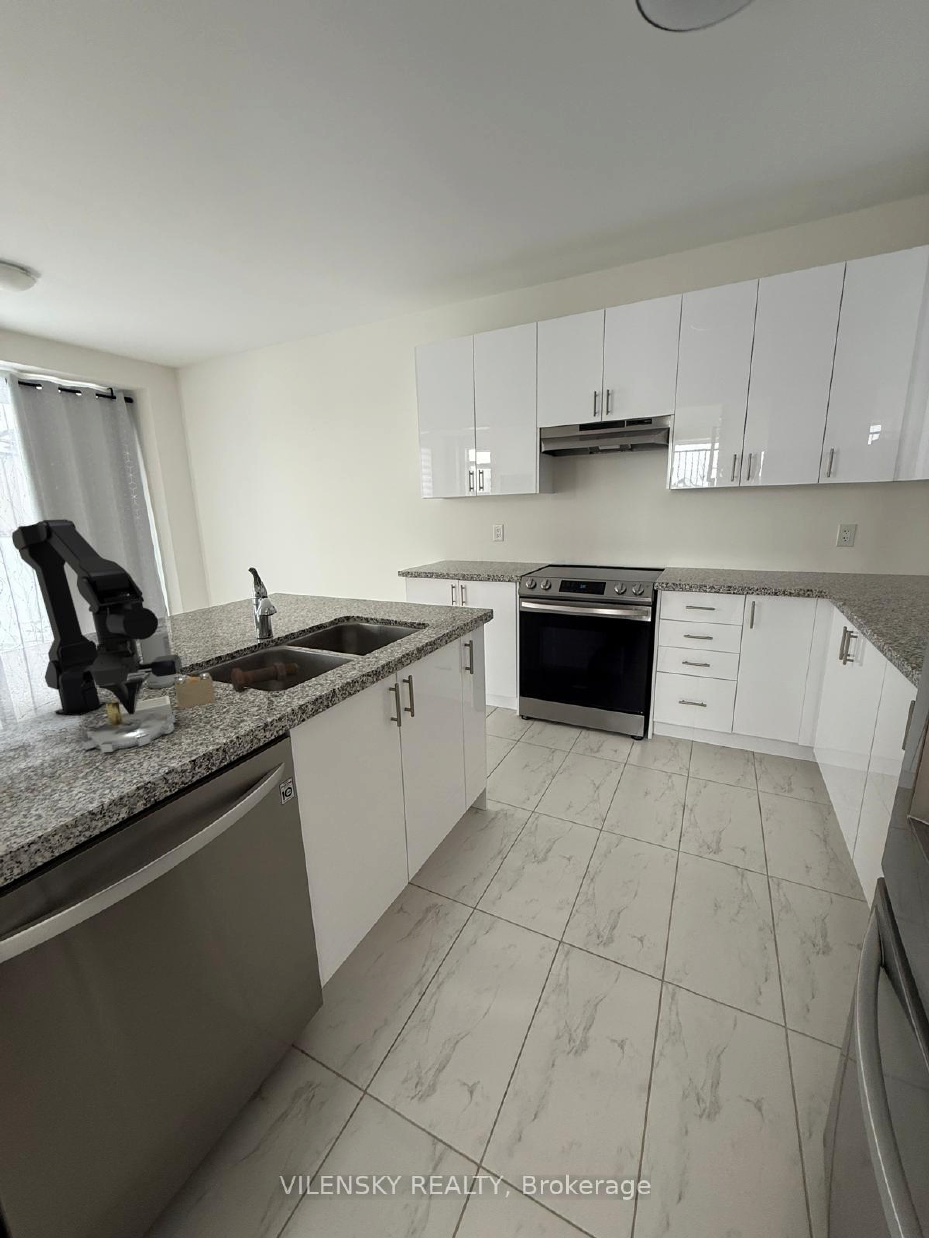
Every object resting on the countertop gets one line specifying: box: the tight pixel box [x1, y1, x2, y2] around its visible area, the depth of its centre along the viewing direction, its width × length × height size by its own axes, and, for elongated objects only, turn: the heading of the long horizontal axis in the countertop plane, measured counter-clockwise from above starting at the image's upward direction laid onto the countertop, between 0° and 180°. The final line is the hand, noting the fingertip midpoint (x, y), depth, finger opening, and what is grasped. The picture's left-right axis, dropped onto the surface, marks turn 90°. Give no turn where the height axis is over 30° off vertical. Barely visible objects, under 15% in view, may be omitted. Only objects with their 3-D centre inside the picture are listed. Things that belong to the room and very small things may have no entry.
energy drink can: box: [138, 623, 176, 690], centre depth 121 cm, size 6×6×15 cm
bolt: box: [230, 661, 300, 693], centre depth 121 cm, size 6×5×15 cm
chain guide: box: [119, 695, 173, 717], centre depth 104 cm, size 10×6×2 cm, turn 124°
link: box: [173, 672, 216, 711], centre depth 109 cm, size 7×4×6 cm, turn 124°
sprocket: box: [81, 700, 176, 753], centre depth 93 cm, size 15×15×6 cm
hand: (132, 713), depth 96 cm, fingers closed
